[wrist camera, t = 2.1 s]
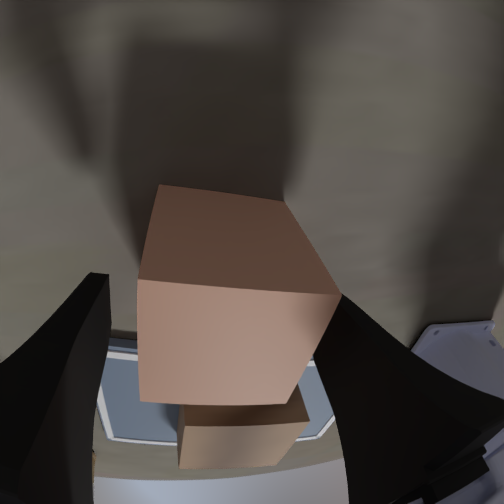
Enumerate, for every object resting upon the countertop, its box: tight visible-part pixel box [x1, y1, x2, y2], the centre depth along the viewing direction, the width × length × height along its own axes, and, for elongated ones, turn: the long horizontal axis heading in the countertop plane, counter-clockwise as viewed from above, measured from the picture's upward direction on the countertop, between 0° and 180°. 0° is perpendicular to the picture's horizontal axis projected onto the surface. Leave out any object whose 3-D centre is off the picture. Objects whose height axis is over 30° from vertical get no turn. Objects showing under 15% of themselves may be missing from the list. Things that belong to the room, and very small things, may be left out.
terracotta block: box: [137, 184, 342, 405], centre depth 11 cm, size 5×5×6 cm
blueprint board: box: [96, 338, 335, 446], centre depth 20 cm, size 18×12×1 cm, turn 77°
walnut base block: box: [177, 383, 310, 469], centre depth 18 cm, size 7×7×3 cm
